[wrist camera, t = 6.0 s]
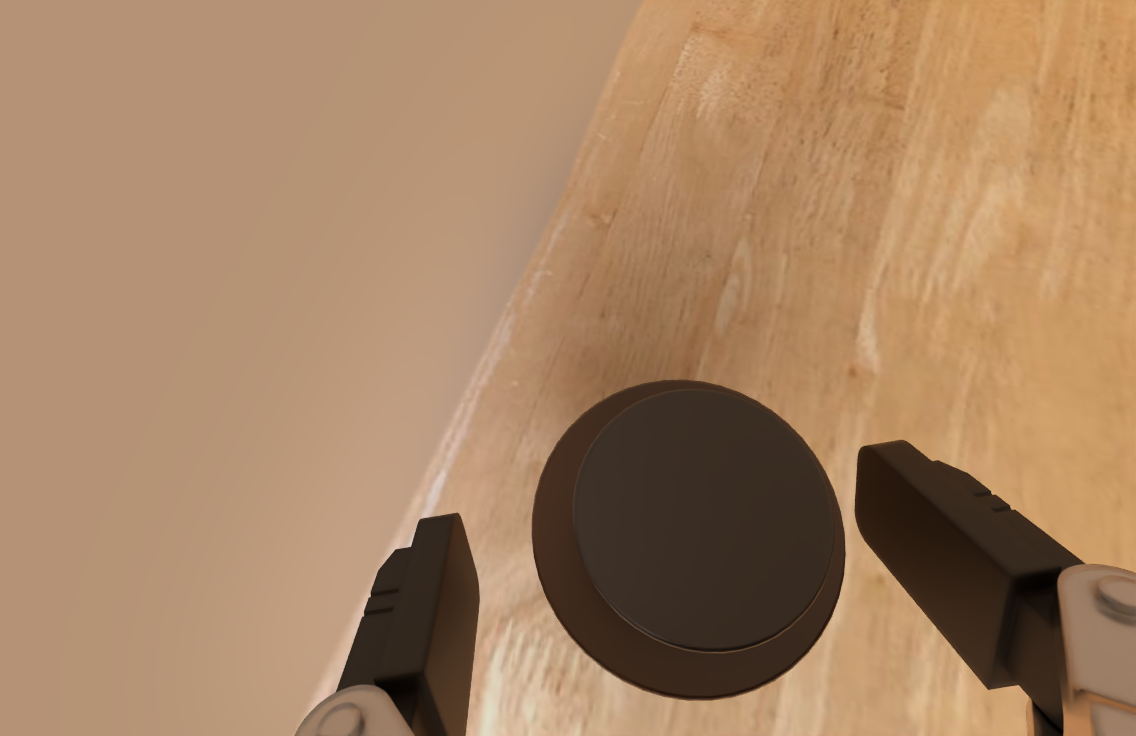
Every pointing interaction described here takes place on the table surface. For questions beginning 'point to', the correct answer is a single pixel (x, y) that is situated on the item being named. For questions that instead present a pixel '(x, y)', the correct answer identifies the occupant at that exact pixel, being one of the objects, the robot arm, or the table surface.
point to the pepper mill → (688, 540)
